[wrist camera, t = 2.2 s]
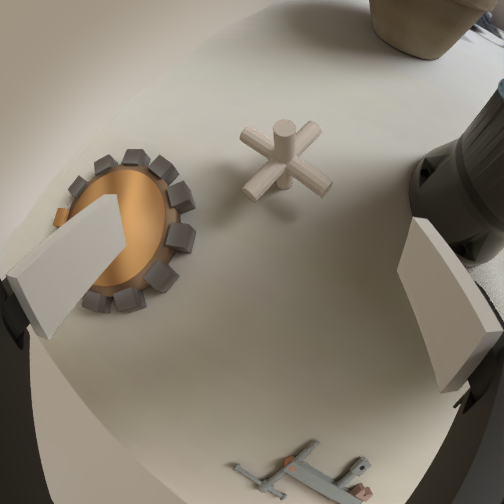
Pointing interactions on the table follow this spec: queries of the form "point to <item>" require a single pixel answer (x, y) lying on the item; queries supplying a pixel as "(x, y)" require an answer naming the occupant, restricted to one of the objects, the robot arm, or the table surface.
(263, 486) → the clamp
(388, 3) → the plant pot
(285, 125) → the pipe connector
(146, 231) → the sprocket wheel
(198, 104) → the table surface
